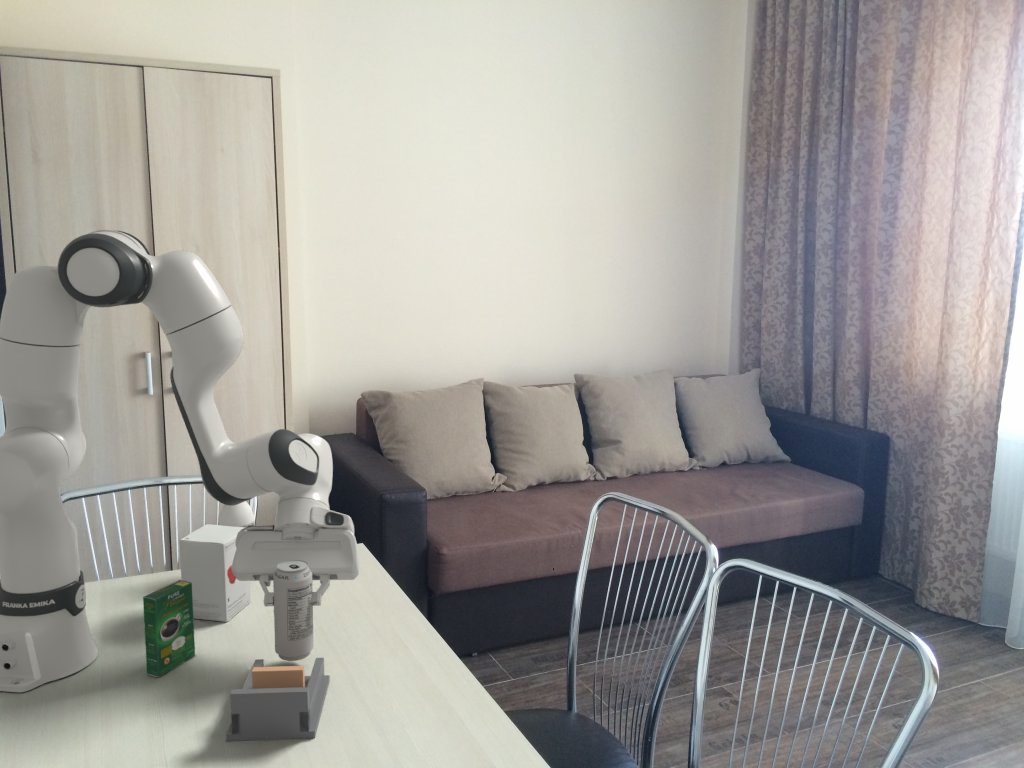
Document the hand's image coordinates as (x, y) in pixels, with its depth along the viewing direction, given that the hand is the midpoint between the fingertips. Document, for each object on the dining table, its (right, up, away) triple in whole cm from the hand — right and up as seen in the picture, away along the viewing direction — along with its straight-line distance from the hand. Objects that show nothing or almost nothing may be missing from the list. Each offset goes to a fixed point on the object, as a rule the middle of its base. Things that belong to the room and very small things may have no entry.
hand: (292, 604), depth 133 cm
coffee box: (-20, -10, +2) cm, 23 cm away
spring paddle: (+1, -12, -12) cm, 16 cm away
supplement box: (-19, -7, +22) cm, 30 cm away
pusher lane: (+1, -13, -10) cm, 16 cm away
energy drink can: (0, -9, +2) cm, 9 cm away
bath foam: (-21, -4, +38) cm, 43 cm away
